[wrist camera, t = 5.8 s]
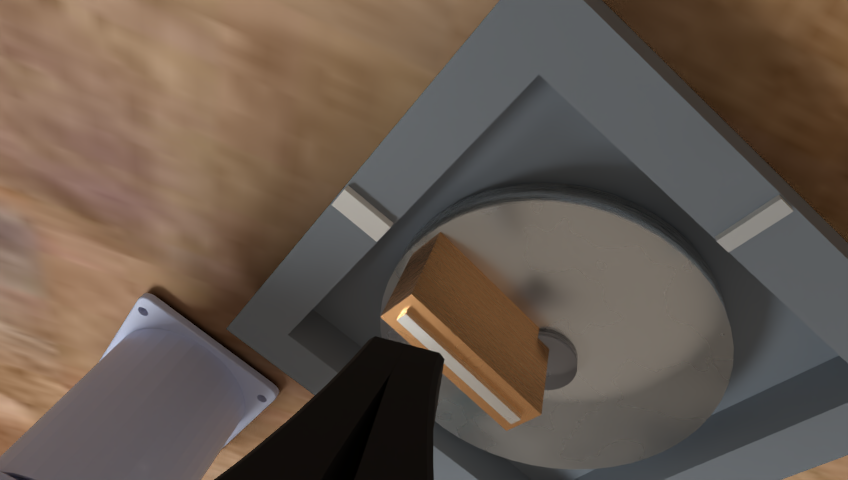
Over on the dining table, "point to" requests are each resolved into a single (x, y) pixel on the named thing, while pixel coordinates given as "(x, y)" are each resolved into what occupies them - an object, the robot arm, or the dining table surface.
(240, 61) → the dining table surface
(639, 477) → the slate tray
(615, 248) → the dial
